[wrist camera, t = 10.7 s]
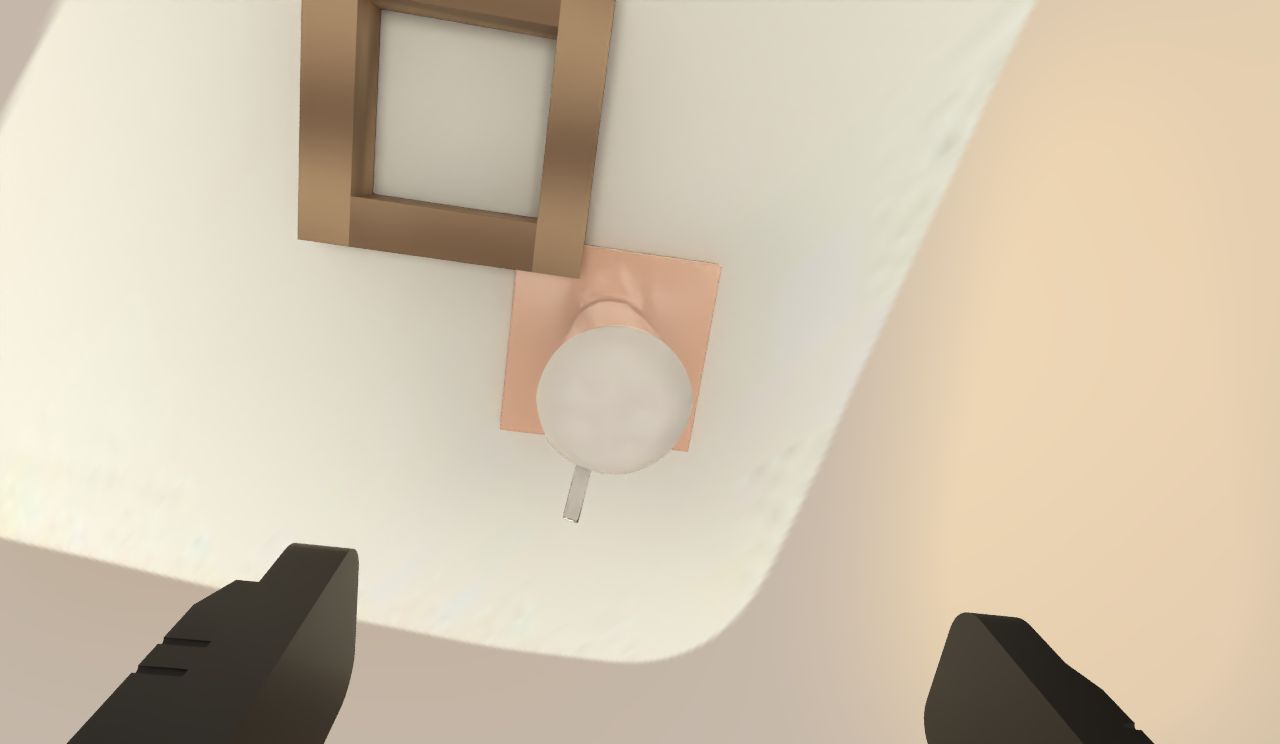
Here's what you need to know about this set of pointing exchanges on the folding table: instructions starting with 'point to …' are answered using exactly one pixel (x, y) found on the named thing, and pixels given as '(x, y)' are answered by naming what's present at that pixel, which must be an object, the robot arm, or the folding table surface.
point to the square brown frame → (353, 216)
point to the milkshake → (612, 396)
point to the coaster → (648, 283)
